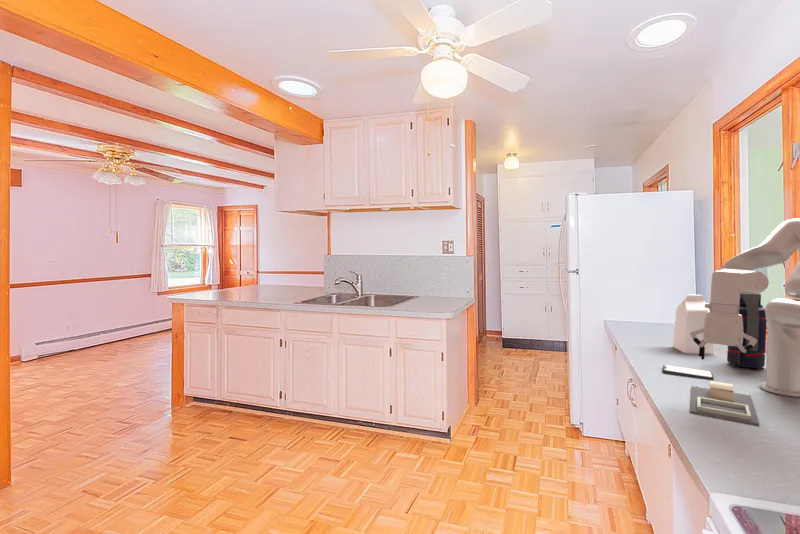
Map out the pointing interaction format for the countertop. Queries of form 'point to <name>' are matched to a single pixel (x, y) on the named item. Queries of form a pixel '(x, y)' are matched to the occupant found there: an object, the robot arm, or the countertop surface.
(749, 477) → the countertop surface
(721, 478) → the countertop surface
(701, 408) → the tray
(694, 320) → the milk
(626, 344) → the countertop surface
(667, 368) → the smartphone
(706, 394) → the mat
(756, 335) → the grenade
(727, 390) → the block
